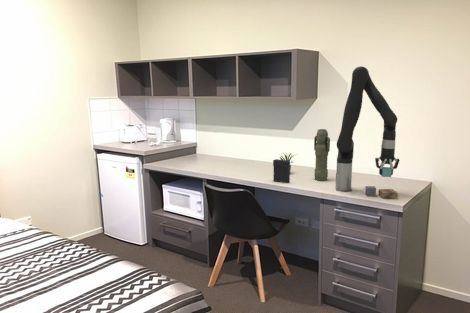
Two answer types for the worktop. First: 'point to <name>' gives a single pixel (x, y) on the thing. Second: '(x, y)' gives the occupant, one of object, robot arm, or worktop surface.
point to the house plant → (288, 158)
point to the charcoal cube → (370, 191)
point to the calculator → (281, 170)
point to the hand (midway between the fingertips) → (385, 175)
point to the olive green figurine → (321, 154)
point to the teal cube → (386, 172)
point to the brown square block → (388, 194)
